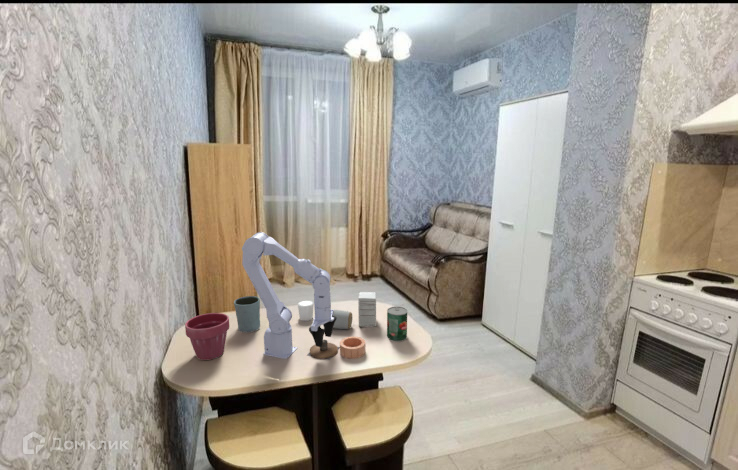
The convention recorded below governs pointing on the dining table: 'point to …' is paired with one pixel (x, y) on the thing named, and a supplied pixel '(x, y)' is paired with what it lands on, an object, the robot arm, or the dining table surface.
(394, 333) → the canned tomato
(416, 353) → the dining table surface
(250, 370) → the dining table surface
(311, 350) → the walnut lid
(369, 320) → the supplement box
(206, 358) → the plant pot
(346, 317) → the ceramic mug
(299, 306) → the shot glass
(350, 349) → the terracotta bowl
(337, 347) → the charcoal mat
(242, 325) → the teal cup
